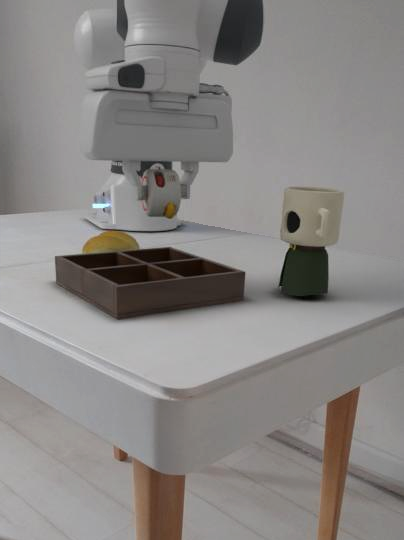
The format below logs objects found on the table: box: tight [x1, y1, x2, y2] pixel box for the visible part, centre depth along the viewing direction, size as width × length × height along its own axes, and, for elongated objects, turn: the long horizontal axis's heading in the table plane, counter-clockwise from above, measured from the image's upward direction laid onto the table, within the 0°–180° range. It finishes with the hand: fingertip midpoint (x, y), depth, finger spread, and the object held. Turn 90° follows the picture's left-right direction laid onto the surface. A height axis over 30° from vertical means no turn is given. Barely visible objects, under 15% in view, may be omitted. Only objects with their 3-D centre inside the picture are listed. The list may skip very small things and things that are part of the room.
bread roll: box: [81, 230, 141, 254], centre depth 87 cm, size 8×9×4 cm
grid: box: [54, 246, 247, 320], centre depth 70 cm, size 17×17×4 cm
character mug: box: [277, 186, 345, 299], centre depth 70 cm, size 11×7×13 cm, turn 9°
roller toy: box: [142, 169, 182, 219], centre depth 71 cm, size 4×6×6 cm
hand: (160, 199), depth 72 cm, fingers closed on roller toy, 5 cm apart
